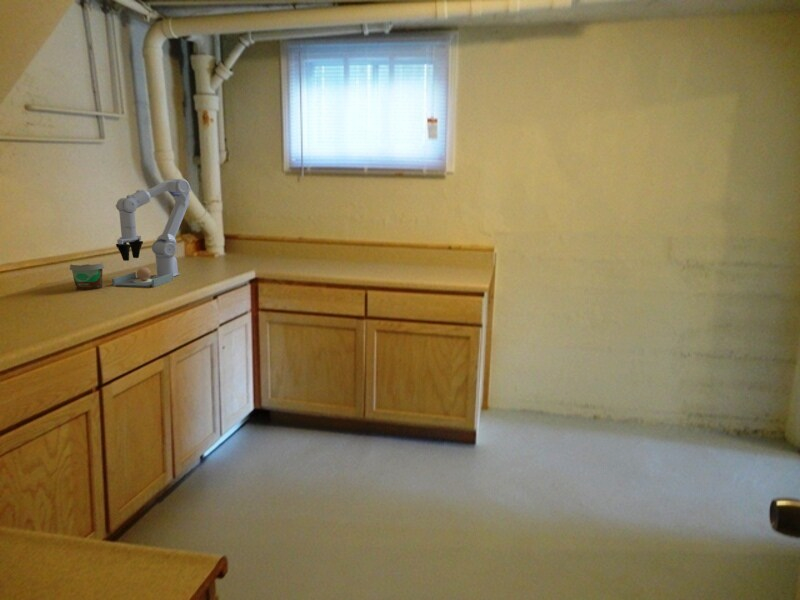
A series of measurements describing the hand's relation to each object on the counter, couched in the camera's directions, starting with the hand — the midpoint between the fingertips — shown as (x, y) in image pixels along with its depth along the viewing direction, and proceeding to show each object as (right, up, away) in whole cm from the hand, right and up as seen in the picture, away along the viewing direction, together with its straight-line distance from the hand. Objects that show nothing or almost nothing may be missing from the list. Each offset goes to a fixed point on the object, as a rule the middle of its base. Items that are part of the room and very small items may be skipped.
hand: (131, 259), depth 245 cm
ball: (+6, -6, -2) cm, 9 cm away
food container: (-10, -13, -16) cm, 23 cm away
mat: (+6, -10, -1) cm, 12 cm away
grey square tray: (+6, -10, -1) cm, 12 cm away
